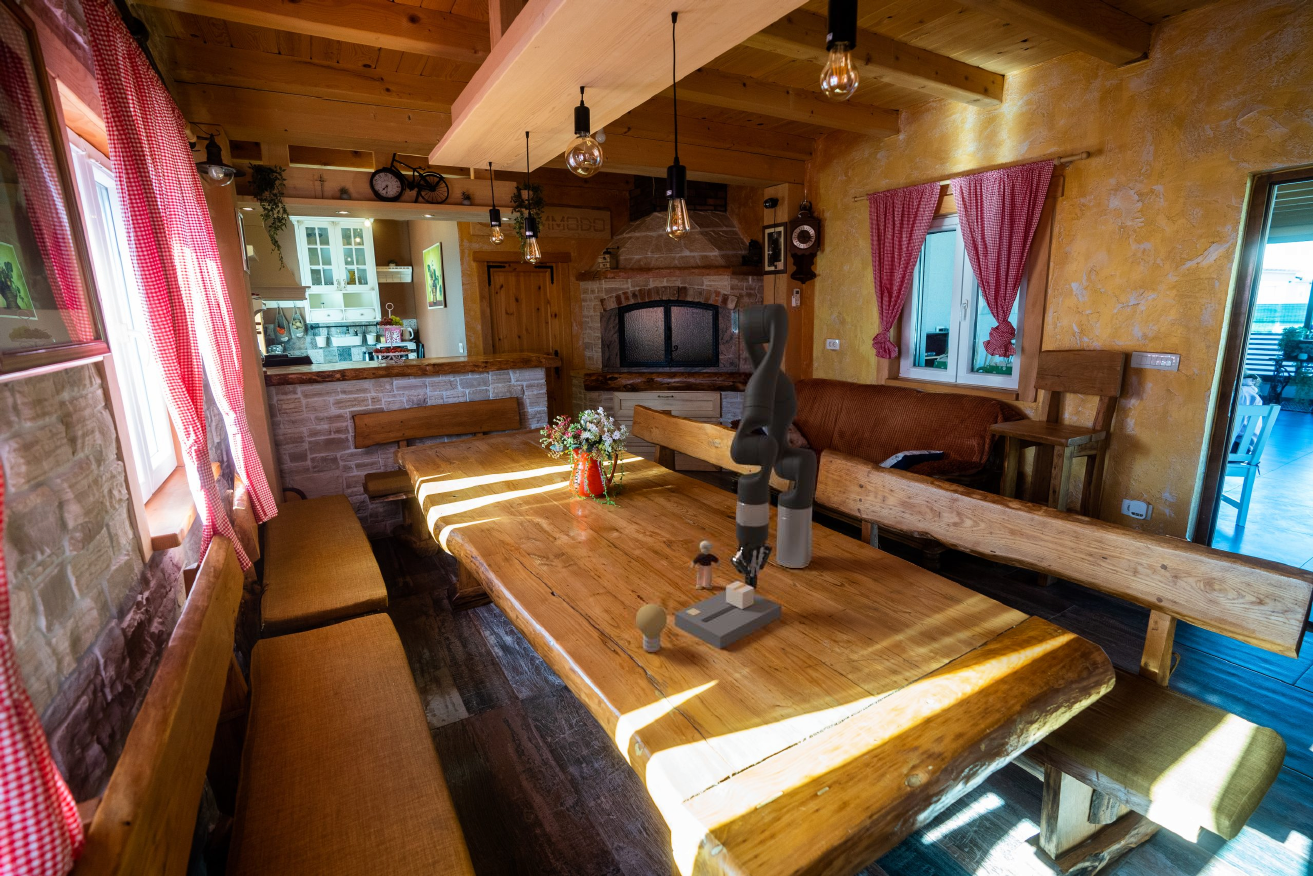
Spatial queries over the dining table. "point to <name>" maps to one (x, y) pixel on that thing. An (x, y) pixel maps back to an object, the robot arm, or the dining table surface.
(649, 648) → the light bulb
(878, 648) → the dining table surface
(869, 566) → the dining table surface
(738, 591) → the fader knob
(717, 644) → the fader console
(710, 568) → the grandmother figurine
